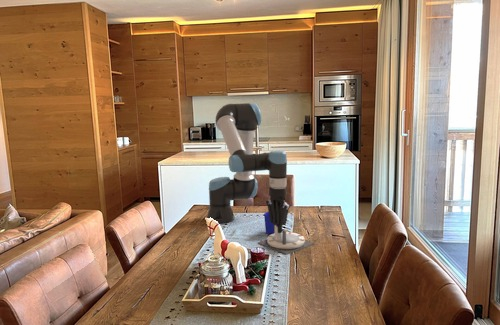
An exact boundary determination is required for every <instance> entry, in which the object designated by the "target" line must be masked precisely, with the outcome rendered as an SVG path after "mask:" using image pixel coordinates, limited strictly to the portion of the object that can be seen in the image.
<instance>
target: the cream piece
mask: <svg viewBox="0 0 500 325" xmlns="http://www.w3.org/2000/svg"><path fill="white" fill-rule="evenodd" d="M286 230H287V229H282V233H281V239H280V240H275V233H274V234H271V235H270V234H268V235H267V243H268V244H269V245H270V246H272V247H275V248H279V249H295V248H299V247H301V246H303V245H304V244H305V240H306V238H305V236H304V235H302V234H299V233H296V232H292V231H288V232H286Z"/></svg>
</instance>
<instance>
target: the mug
mask: <svg viewBox="0 0 500 325" xmlns="http://www.w3.org/2000/svg"><path fill="white" fill-rule="evenodd" d="M263 216H264V217H263V218H264V227H265V232H266V233H265V234H267V235H271V234H274V233H275V232H274V225H273V223H271V222H270V217H269V211H266V212H265V213H264V214H263Z"/></svg>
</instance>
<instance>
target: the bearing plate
mask: <svg viewBox="0 0 500 325" xmlns="http://www.w3.org/2000/svg"><path fill="white" fill-rule="evenodd" d="M285 230H286V232H289V231H288V229H285ZM257 243H258V244H259V245H261V246H263V245H264V247H266V248H268V247H269V249H271V250H273V249H274V251H276V252H278V253H281V254H283V253H284V255H286V254H287V255H289V254H291V253H294V252H297V251H299V250H302V249H303V250H304V249H305V248H308V247H310V246H314V245H315V243H314V242H313V241H310V240H308V239H307V240H306V239H305V244H304V245H303V246H301V247H299V248H295V249H279V248H275V247H272V246H270V245H269V244H268V243H267V239H263V240H260V241H258V242H257Z"/></svg>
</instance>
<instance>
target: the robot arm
mask: <svg viewBox="0 0 500 325" xmlns="http://www.w3.org/2000/svg"><path fill="white" fill-rule="evenodd" d="M261 124H262V112H261V110H260V107H259V106H258V104H256V103H250V102H249V103H247V102H245V103H227V104H225V105H223V106H222V107H221V108H219V109H218V111H217V113H216V116H215V125H216V127H217V129H218V130H219V131H220V133H221V135H222V138H223V140H224V143H225V145H226V147H227V150H228V153H229V155H230V156H229V157H228V169H229V171H231V172H232V173H234V174H233V178H232V179H231V178H230V177H229V176H220V177H215V178H212V179H211V180H210V181H209V182H208V194H209V196H208V198H209V202H208V203H209V208H208V212H207V214H206V219H207V218H210V217H211V218H213V219H214V220H216V221H218V222H219V223H218V224H226V223H230V222H233V221H234V220H235V216H234V212H233V208H232V206H231V201H235V200H236V201H237V200H239V201H240V200H248V199H253V198H254V197H255V196H257V193H258V180H257V179H256V177H255V175H254V174H253V173H252V172H259V171H268V177H269V178H268V182H269V183H268V186H269V188H268V191H269V192H268V195H269V196H270V197H269V199H268V200H265V203H266V206H267V210H268V211H267V212H269V217H270V222H271V223H273V225H274V232H275V240H280V239H281V233H282V231H283V226H285V225H286V224H287V219H288V214H289V210H290V208H291V205H290V204H288V202H287V199H286V196H287V186H288V184H287V180H288V179H287V172H288V171H287V169H288V167H287V163H288V158H287V152H286V151H284V150H272V151H271V150H270V151H269V152H262V153H256V154H255V153H254V133H255V132H256V131H257V130H258V127H259V126H260V125H261Z"/></svg>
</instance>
